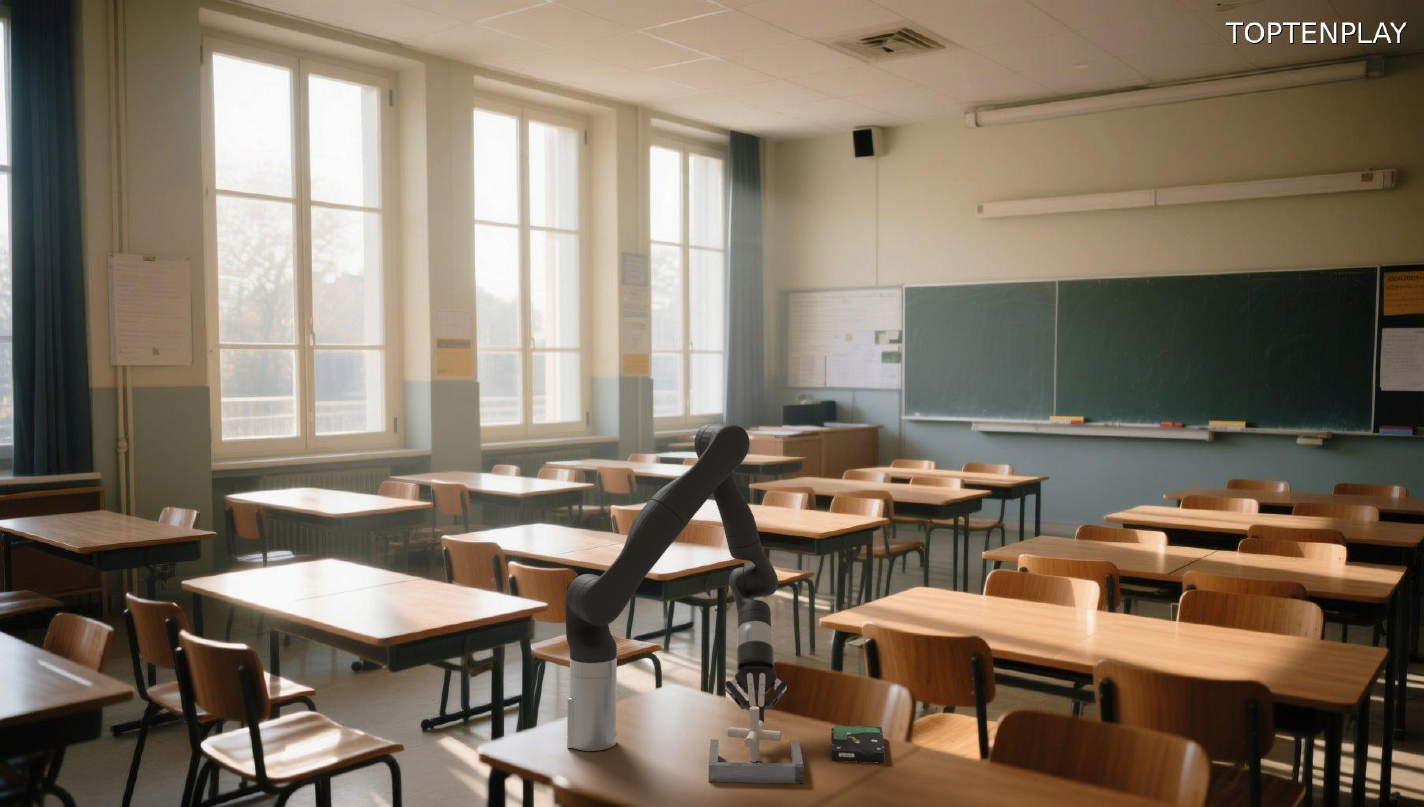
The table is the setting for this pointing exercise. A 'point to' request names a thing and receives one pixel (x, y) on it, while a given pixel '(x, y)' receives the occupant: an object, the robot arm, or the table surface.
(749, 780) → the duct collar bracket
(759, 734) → the pipe connector
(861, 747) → the disk drive
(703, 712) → the table surface
